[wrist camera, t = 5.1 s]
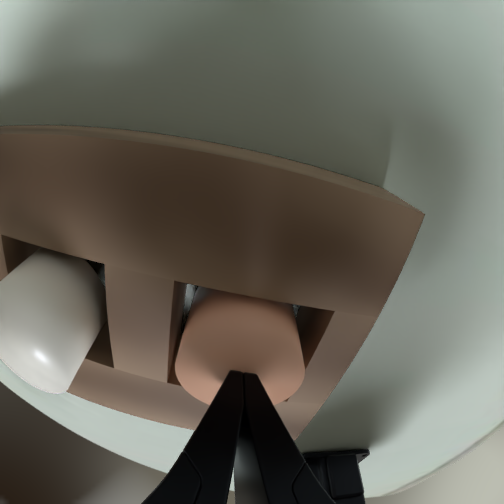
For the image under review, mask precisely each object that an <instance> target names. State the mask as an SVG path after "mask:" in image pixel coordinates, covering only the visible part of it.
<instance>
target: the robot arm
mask: <svg viewBox="0 0 504 504" xmlns="http://www.w3.org/2000/svg"><path fill="white" fill-rule="evenodd" d="M369 454H370V452H369V450H368V449H366V450H356V451H344V452H327V453H305V454H301V452H300V451H299V449H298V447H297V446H296V444H295V442H294V440H293V439H292V437H291V435H290V433H289V432H288V430H287V428H286V426H285V425H284V423H283V421H282V419H281V418H280V416H279V414H278V412H277V410H276V408H275V407H274V405H273V403H272V401H271V399H270V397H269V396H268V394H267V392H266V390H265V388H264V386H263V384H262V383H261V381H260V379H259V377H258V375H257V374H255V373H248V372H244V373H243V372H241V371H235V370H230V371H229V372H228V374H227V376H226V378H225V379H224V381H223V383H222V385H221V387H220V388H219V390H218V392H217V394H216V395H215V397H214V399H213V401H212V402H211V404H210V406H209V407H208V409H207V411H206V413H205V414H204V416H203V418H202V419H201V421H200V423H199V424H198V426H197V428H196V430H195V431H194V433H193V435H192V436H191V438H190V440H189V441H188V443H187V445H186V446H185V448H184V449H183V452H182V453H181V454H180V456H179V457H178V459H177V461H176V462H175V464H174V465H173V467H172V468H171V470H170V471H169V472H168V474H167V475H166V477H165V478H164V479H163V480H162V481H161V483H160V484H159V485H158V486H157V487H156V488H155V489H154V491H153V492H152V493H151V494H150V495H149V496H148V497H147V498H146V499H145V500H144V501H143V502H142V503H141V504H227V499H228V493H229V488H230V483H231V478H232V472H233V467H234V486H235V504H365V498H364V488H363V483H362V478H361V474H360V469H359V465H358V463H359V462H361V461H362V460H363V459H365V458H366V457H367V456H368V455H369Z"/></svg>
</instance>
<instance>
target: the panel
mask: <svg viewBox="0 0 504 504" xmlns="http://www.w3.org/2000/svg"><path fill="white" fill-rule="evenodd" d="M424 216H425V214H424V213H422V212H421V211H419V210H418V209H416V208H415V207H413V206H412V205H410V204H408V203H407V202H405V201H404V200H402V199H400V198H399V197H397V196H395V195H394V194H392V193H390V192H389V191H387V190H385V189H383V188H381V187H378V186H375V185H372V184H369V183H366V182H363V181H360V180H357V179H354V178H351V177H348V176H345V175H342V174H338V173H335V172H332V171H328V170H325V169H322V168H318V167H315V166H311V165H308V164H304V163H300V162H297V161H293V160H289V159H285V158H281V157H277V156H273V155H269V154H265V153H260V152H256V151H252V150H247V149H243V148H238V147H233V146H228V145H223V144H218V143H213V142H207V141H202V140H196V139H190V138H184V137H177V136H171V135H164V134H156V133H149V132H140V131H132V130H122V129H111V128H99V127H83V126H59V125H15V126H0V281H1V280H3V279H4V278H5V277H6V276H7V275H8V274H9V273H10V272H12V271H13V270H14V269H15V268H16V267H17V266H19V265H20V264H21V263H22V262H23V261H25V260H26V259H27V258H28V257H29V256H31V255H32V254H33V253H34V252H36V251H37V250H38V249H40V248H41V247H44V248H48V249H51V250H55V251H58V252H62V253H65V254H69V255H73V256H76V257H80V258H84V259H88V260H91V261H95V262H99V263H103V264H105V287H106V303H107V314H108V318H107V320H106V322H105V324H104V325H103V327H102V329H101V330H100V332H99V334H98V335H97V337H96V339H95V341H94V342H93V344H92V346H91V348H90V349H89V351H88V353H87V355H86V356H85V358H84V360H83V362H82V364H81V365H80V367H79V369H78V371H77V373H76V375H75V377H74V379H73V380H72V382H71V384H70V386H69V388H68V390H67V391H66V392H68V393H71V394H73V395H76V396H78V397H81V398H83V399H86V400H88V401H91V402H94V403H97V404H99V405H102V406H105V407H108V408H111V409H114V410H117V411H120V412H123V413H127V414H130V415H133V416H137V417H140V418H144V419H148V420H152V421H156V422H160V423H164V424H168V425H172V426H177V427H182V428H187V429H192V430H196V428H197V426H198V424H199V423H200V421H201V419H202V418H203V416H204V414H205V413H206V411H207V409H208V407H209V406H210V405H208V404H206V403H204V402H202V401H200V400H198V399H196V398H195V397H193V396H192V395H191V394H189V393H188V392H187V391H186V390H185V389H184V388H183V387H182V385H181V384H180V382H179V381H178V378H177V376H176V372H175V362H176V358H177V354H178V350H179V347H180V343H181V339H182V336H183V334H182V333H181V327H182V318H183V309H184V301H185V293H186V285H187V284H192V285H197V286H201V287H206V288H211V289H216V290H221V291H226V292H231V293H236V294H241V295H246V296H251V297H257V298H262V299H267V300H273V301H278V302H284V303H290V304H295V305H301V306H300V309H299V311H298V314H297V316H296V324H297V329H298V334H299V340H300V345H301V350H302V355H303V361H304V366H305V376H304V380H303V382H302V384H301V386H300V387H299V389H298V390H297V391H296V392H295V393H294V394H293V395H292V396H290V397H289V398H288V399H286V400H284V401H283V402H281V403H279V404H276V405H274V407H275V408H276V410H277V412H278V414H279V416H280V418H281V419H282V421H283V423H284V425H285V426H286V428H287V430H288V432H289V433H290V435H291V437H292V439H293V440H294V441H295V440H296V439H297V437H298V436H299V435H300V434H301V432H302V431H303V430H304V429H305V427H306V426H307V425H308V424H309V422H310V421H311V420H312V418H313V417H314V416H315V414H316V413H317V412H318V410H319V409H320V408H321V406H322V405H323V404H324V402H325V401H326V399H327V398H328V397H329V395H330V394H331V392H332V391H333V389H334V388H335V387H336V385H337V384H338V382H339V381H340V379H341V378H342V376H343V375H344V373H345V372H346V370H347V368H348V367H349V365H350V364H351V362H352V361H353V359H354V357H355V356H356V354H357V353H358V351H359V349H360V348H361V346H362V344H363V343H364V341H365V339H366V338H367V336H368V334H369V332H370V331H371V329H372V327H373V325H374V323H375V322H376V320H377V318H378V316H379V314H380V313H381V311H382V309H383V307H384V305H385V303H386V301H387V299H388V297H389V295H390V293H391V291H392V289H393V287H394V285H395V283H396V281H397V279H398V277H399V275H400V273H401V271H402V268H403V266H404V264H405V262H406V260H407V257H408V255H409V253H410V250H411V248H412V246H413V243H414V241H415V239H416V236H417V234H418V231H419V229H420V226H421V224H422V221H423V218H424Z"/></svg>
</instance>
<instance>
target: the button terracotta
mask: <svg viewBox="0 0 504 504" xmlns="http://www.w3.org/2000/svg"><path fill="white" fill-rule="evenodd" d="M230 370H235V371H241V372H243V373H244V372H248V373H255V374H257V375H258V377H259V379H260V381H261V383H262V384H263V386H264V388H265V390H266V392H267V394H268V396H269V397H270V399H271V401H272V403H273V405H276V404H279V403H281V402H283V401H284V400H286V399H288V398H289V397H290V396H292V395H293V394H294V393H295V392H296V391H297V390H298V389H299V387H300V386H301V384H302V382H303V380H304V376H305V366H304V361H303V355H302V350H301V345H300V340H299V334H298V329H297V324H296V319H295V314H294V309H293V304H290V303H284V302H278V301H273V300H267V299H262V298H257V297H251V296H246V295H241V294H236V293H231V292H226V291H221V290H216V289H211V288H206V287H201V286H199V287H198V288H197V290H196V292H195V295H194V298H193V301H192V305H191V308H190V311H189V315H188V318H187V322H186V325H185V329H184V332H183V336H182V339H181V343H180V347H179V350H178V354H177V358H176V362H175V372H176V376H177V378H178V381H179V382H180V384H181V385H182V387H183V388H184V389H185V390H186V391H187V392H188V393H189V394H191V395H192V396H193V397H195V398H196V399H198V400H200V401H202V402H204V403H206V404H208V405H210V404H211V402H212V401H213V399H214V397H215V395H216V394H217V392H218V390H219V388H220V387H221V385H222V383H223V381H224V379H225V378H226V376H227V374H228V372H229V371H230Z"/></svg>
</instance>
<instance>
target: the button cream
mask: <svg viewBox="0 0 504 504" xmlns="http://www.w3.org/2000/svg"><path fill="white" fill-rule="evenodd" d="M107 318H108V314H107V303H106V290H105V287H104V285H103V283H102V281H101V280H100V278H99V276H98V275H97V273H96V272H95V271H94V269H93V268H92V267H91V266H90V265H89V264H88V263H87V262H86V261H85V260H84V259H83V258H80V257H76V256H73V255H69V254H65V253H62V252H58V251H55V250H51V249H48V248H44V247H41V248H40V249H38V250H37V251H36V252H34V253H33V254H32V255H31V256H29V257H28V258H27V259H26V260H25V261H23V262H22V263H21V264H20V265H19V266H17V267H16V268H15V269H14V270H13V271H12V272H10V273H9V274H8V275H7V276H6V277H5V278H4V279H3V280H1V281H0V359H1V360H2V361H3V362H4V363H5V364H6V365H7V366H8V367H9V368H10V369H11V370H12V371H13V372H14V373H15V374H16V375H18V376H19V377H20V378H22V379H23V380H24V381H26V382H27V383H29V384H30V385H32V386H34V387H36V388H38V389H40V390H42V391H45V392H48V393H53V394H61V393H64V392H66V391H67V390H68V388H69V386H70V384H71V382H72V380H73V379H74V377H75V375H76V373H77V371H78V369H79V367H80V365H81V364H82V362H83V360H84V358H85V356H86V355H87V353H88V351H89V349H90V348H91V346H92V344H93V342H94V341H95V339H96V337H97V335H98V334H99V332H100V330H101V329H102V327H103V325H104V324H105V322H106V320H107Z"/></svg>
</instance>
